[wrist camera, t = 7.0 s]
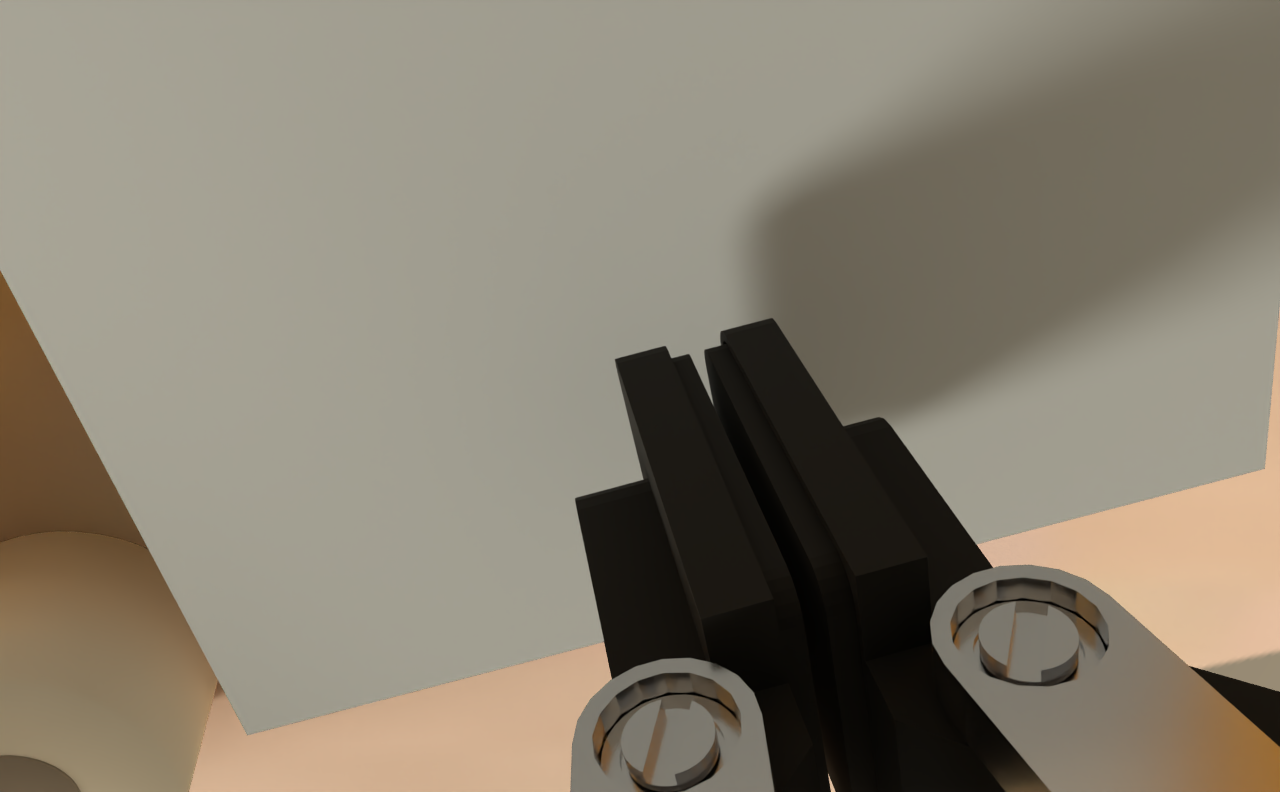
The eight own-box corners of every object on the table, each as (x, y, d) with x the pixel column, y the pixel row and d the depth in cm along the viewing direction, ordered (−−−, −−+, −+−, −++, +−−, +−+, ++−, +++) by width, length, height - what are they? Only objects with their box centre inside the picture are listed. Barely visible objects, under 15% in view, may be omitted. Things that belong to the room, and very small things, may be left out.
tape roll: (-124, 571, 22) (-247, 738, 18) (158, 499, 23) (96, 648, 19) (17, 762, 26) (-62, 941, 22) (265, 697, 26) (231, 862, 22)
